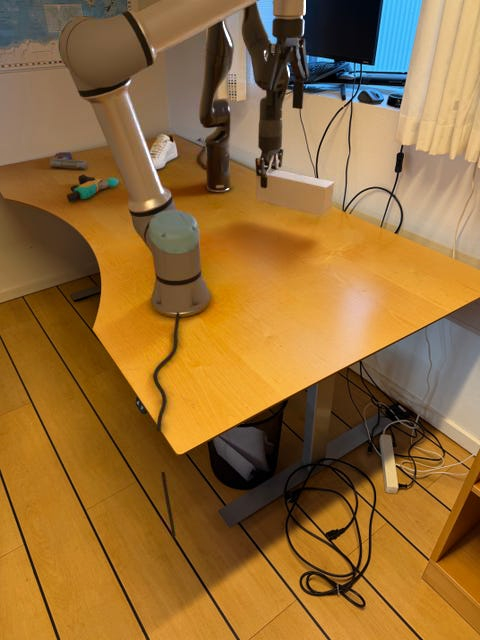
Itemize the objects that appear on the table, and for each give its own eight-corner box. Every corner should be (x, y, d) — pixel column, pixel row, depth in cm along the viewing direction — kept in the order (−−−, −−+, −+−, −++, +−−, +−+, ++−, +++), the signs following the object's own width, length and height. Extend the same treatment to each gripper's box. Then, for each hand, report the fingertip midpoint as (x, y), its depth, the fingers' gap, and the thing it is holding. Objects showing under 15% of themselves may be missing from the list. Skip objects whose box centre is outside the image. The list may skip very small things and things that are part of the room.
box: (330, 211, 155) (334, 181, 149) (322, 217, 151) (325, 187, 146) (264, 194, 167) (265, 167, 161) (255, 200, 163) (256, 172, 157)
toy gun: (98, 160, 223) (83, 171, 211) (61, 158, 226) (45, 169, 214) (96, 152, 220) (81, 162, 208) (59, 150, 223) (43, 160, 212)
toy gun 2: (44, 189, 181) (74, 196, 175) (91, 169, 199) (119, 175, 193) (47, 200, 183) (76, 207, 178) (93, 180, 202) (121, 186, 196)
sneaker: (133, 173, 208) (129, 144, 201) (161, 153, 230) (158, 127, 223) (155, 175, 205) (151, 146, 198) (180, 155, 227) (178, 129, 220)
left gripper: (299, 13, 122) (295, 102, 134) (245, 20, 105) (246, 121, 118) (326, 14, 118) (319, 105, 131) (274, 21, 102) (272, 125, 114)
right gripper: (271, 126, 157) (270, 176, 167) (247, 136, 147) (247, 188, 157) (291, 129, 153) (289, 180, 163) (268, 140, 144) (267, 193, 154)
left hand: (284, 113), depth 124 cm, fingers open, 13 cm apart
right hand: (268, 184), depth 160 cm, fingers closed on box, 6 cm apart
